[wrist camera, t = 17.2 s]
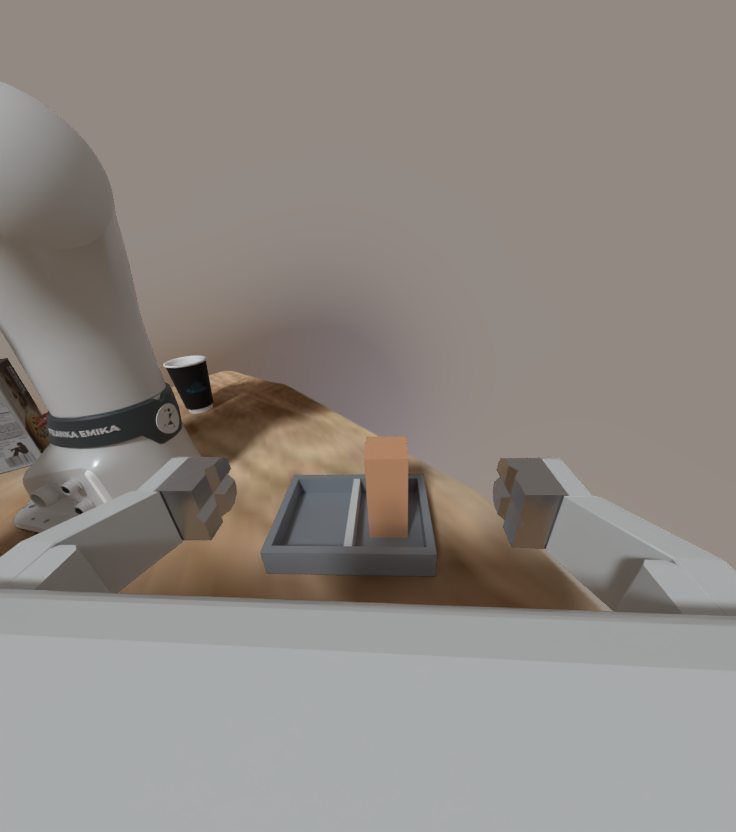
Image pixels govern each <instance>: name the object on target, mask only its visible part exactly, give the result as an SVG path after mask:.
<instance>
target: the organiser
mask: <svg viewBox="0 0 736 832" xmlns="http://www.w3.org/2000/svg"><path fill="white" fill-rule="evenodd" d="M260 553H261V557H262V560H263V563H264V566H265V569H266V573H268V574H326V575H383V576H435V574H436V561H437V552H436V546H435V540H434V535H433V529H432V523H431V517H430V511H429V506H428V500H427V494H426V488H425V482H424V477H423V474H408V538H376V537H370V535H369V521H368V506H367V492H366V478H365V475H294V477H293V479H292V481H291V483H290V486H289V488H288V490H287V493H286V495H285V497H284V499H283V502H282V504H281V506H280V509H279V511H278V513H277V515H276V518H275V520H274V522H273V525H272V527H271V529H270V531H269V534H268V536H267V538H266V541H265V543H264V545H263V547H262V550H261V552H260Z"/></svg>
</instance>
